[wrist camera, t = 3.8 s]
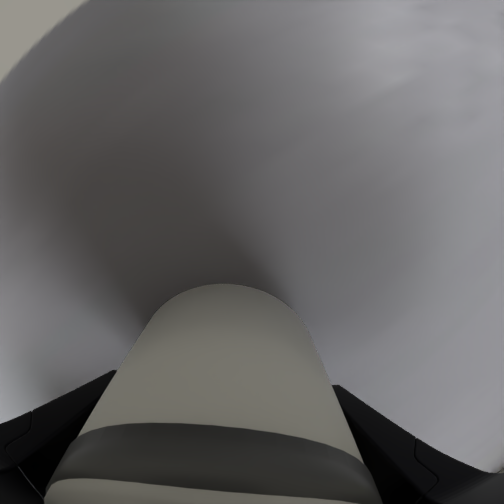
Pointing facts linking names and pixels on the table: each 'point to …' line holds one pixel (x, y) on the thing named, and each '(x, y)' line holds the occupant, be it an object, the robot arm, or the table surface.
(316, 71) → the table surface
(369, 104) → the table surface
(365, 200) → the table surface
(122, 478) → the lens
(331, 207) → the table surface
